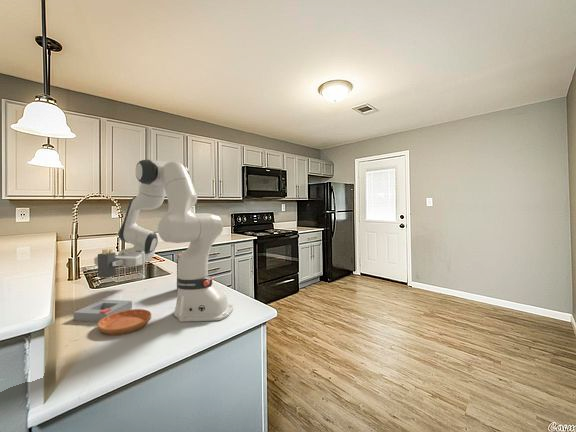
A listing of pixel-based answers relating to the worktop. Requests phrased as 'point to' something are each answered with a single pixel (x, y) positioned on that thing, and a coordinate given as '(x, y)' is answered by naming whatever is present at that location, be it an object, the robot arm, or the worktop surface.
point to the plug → (106, 264)
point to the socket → (101, 310)
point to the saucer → (124, 321)
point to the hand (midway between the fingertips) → (105, 264)
